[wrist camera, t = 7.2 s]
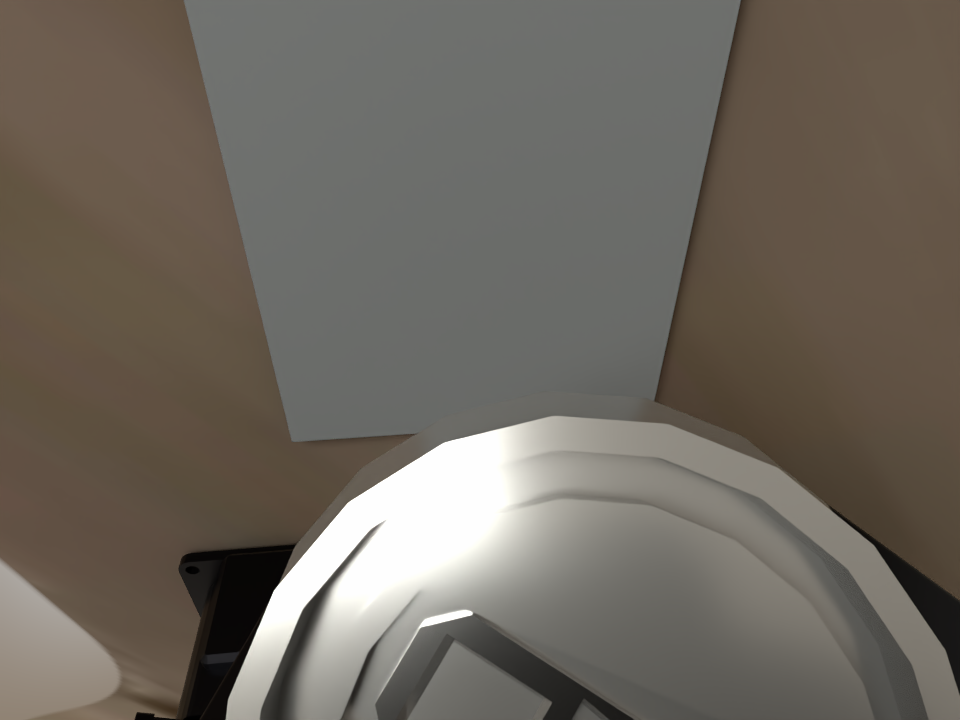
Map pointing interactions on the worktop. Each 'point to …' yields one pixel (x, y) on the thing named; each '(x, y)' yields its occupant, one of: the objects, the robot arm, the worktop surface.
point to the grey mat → (461, 193)
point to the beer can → (587, 584)
